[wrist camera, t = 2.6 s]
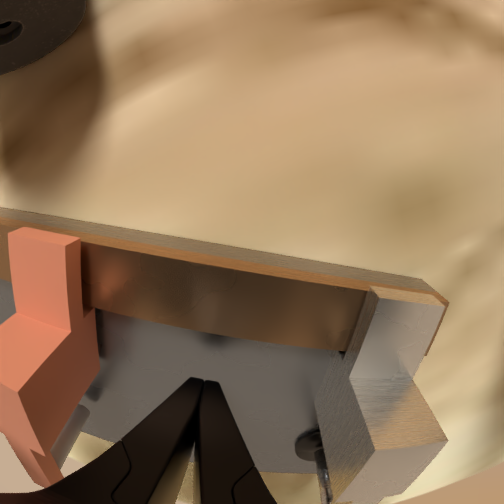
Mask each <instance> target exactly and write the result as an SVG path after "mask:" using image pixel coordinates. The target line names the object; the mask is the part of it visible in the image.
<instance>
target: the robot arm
mask: <svg viewBox="0 0 504 504" xmlns="http://www.w3.org/2000/svg"><path fill="white" fill-rule="evenodd" d="M194 443H195V445H194ZM193 448H194V483H193V504H277V503H276V501H275V500H274V498H273V497H272V495H271V494H270V492H269V490H268V489H267V487H266V485H265V483H264V481H263V479H262V478H261V476H260V473H259V471H258V469H257V467H255V463H254V461H253V459H252V457H251V455H250V453H249V450H248V448H247V446H246V444H245V442H244V439H243V437H242V435H241V433H240V430H239V428H238V426H237V424H236V421H235V419H234V417H233V414H232V412H231V410H230V407H229V405H228V402H227V400H226V398H225V395H224V393H223V390H222V388H221V385H220V383H219V382H217V381H212V380H205V381H204V380H203V379H201V378H196V377H190V378H188V379H187V380H186V381H185V382H184V383H183V384H182V385H181V386H180V387H179V388H178V389H176V390H175V391H174V392H173V393H172V394H171V395H170V396H169V397H168V398H167V399H165V400H164V401H163V402H162V403H161V404H160V405H159V406H158V407H157V408H155V409H154V410H153V411H152V412H151V413H150V414H149V415H148V416H146V417H145V418H144V419H143V420H142V421H141V422H140V423H139V424H137V425H136V426H135V427H134V428H133V429H132V430H131V431H129V432H128V433H127V434H126V435H125V436H124V437H122V438H121V440H119V441H118V442H116V443H115V444H114V445H113V446H112V447H111V448H109V449H108V450H107V451H105V452H104V453H103V454H102V455H100V456H99V457H98V458H96V459H95V460H93V461H92V462H90V463H88V464H87V465H85V466H84V467H82V468H80V469H79V470H77V471H75V472H74V473H72V474H70V475H68V476H67V477H65V478H63V479H61V480H60V481H58V482H56V483H54V484H52V485H51V486H49V487H47V488H44V489H42V490H39V491H35V492H29V493H0V504H175V502H176V499H177V496H178V493H179V490H180V487H181V484H182V481H183V478H184V475H185V472H186V469H187V466H188V463H189V460H190V457H191V454H192V451H193Z"/></svg>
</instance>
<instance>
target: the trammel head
mask: <svg viewBox="0 0 504 504" xmlns="http://www.w3.org/2000/svg"><path fill="white" fill-rule="evenodd" d="M8 248H9V260H10V271H11V279H12V287H13V294H14V301H15V307H16V313H15V314H14V315H12V316H11V317H10V318H9V319H7V320H6V321H5V322H4V323H2V324H1V325H0V432H2V433H3V434H4V435H5V436H6V438H7V440H8V442H9V444H10V445H11V447H12V449H13V450H14V452H15V454H16V455H17V457H18V459H19V460H20V462H21V463H22V465H23V466H24V468H25V470H26V471H27V472H28V474H29V476H30V477H31V478H32V480H33V481H34V483H36V484H38V485H40V486H42V487H44V488H47V487H49V486H51V485H52V484H54V483H56V482H58V481H60V480H61V479H63V478H64V477H63V475H62V473H61V471H60V469H61V467H62V465H63V463H64V462H65V460H66V458H67V456H68V454H69V452H70V450H71V448H72V447H73V445H74V443H75V441H76V439H77V437H78V435H79V434H80V432H81V430H82V428H83V426H84V425H85V423H86V421H87V419H88V417H89V416H90V411H89V410H88V409H87V408H86V407H85V406H83V405H81V404H78V403H79V402H80V400H81V398H82V397H83V395H84V394H85V392H86V391H87V389H88V387H89V386H90V384H91V383H92V381H93V380H94V378H95V377H96V375H97V374H98V372H99V370H100V362H99V353H98V344H97V332H96V319H95V308H94V307H90V306H87V305H83V304H82V289H81V238H79V237H74V236H69V235H64V234H58V233H53V232H48V231H43V230H38V229H33V228H28V227H22V228H19V229H17V230H14V231H12V232H9V233H8Z"/></svg>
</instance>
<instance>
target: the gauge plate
mask: <svg viewBox="0 0 504 504" xmlns="http://www.w3.org/2000/svg"><path fill="white" fill-rule="evenodd" d="M22 227H28V228H33V229H38V230H43V231H48V232H53V233H58V234H64V235H69V236H74V237H79V238H81V289H82V304H83V305H87V306H90V307H94V308H95V319H96V332H97V344H98V353H99V362H100V370H99V372H98V374H97V375H96V377H95V378H94V380H93V381H92V383H91V384H90V386H89V387H88V389H87V391H86V392H85V394H84V395H83V397H82V398H81V400H80V402H79V403H78V404H81V405H83V406H85V407H86V408H87V409H88V410H89V411H90V416H89V417H88V419H87V421H86V423H85V425H84V426H83V428H82V430H81V431H82V432H85V433H87V434H90V435H93V436H96V437H99V438H102V439H104V440H107V441H110V442H114V443H116V442H118V441H119V440H121V438H122V437H124V436H125V435H126V434H127V433H128V432H129V431H131V430H132V429H133V428H134V427H135V426H136V425H137V424H139V423H140V422H141V421H142V420H143V419H144V418H145V417H146V416H148V415H149V414H150V413H151V412H152V411H153V410H154V409H155V408H157V407H158V406H159V405H160V404H161V403H162V402H163V401H164V400H165V399H167V398H168V397H169V396H170V395H171V394H172V393H173V392H174V391H175V390H176V389H178V388H179V387H180V386H181V385H182V384H183V383H184V382H185V381H186V380H187V379H188V378H190V377H196V378H201V379H203V380H204V381H205V380H212V381H217V382H219V383H220V385H221V388H222V390H223V393H224V395H225V398H226V400H227V402H228V405H229V407H230V410H231V412H232V414H233V417H234V419H235V421H236V424H237V426H238V428H239V430H240V433H241V435H242V437H243V439H244V442H245V444H246V446H247V448H248V450H249V453H250V455H251V457H252V459H253V461H254V463H255V467H257V469H258V471H263V472H279V473H317V476H318V482H319V488H320V495H321V501H322V504H378V503H379V502H380V501H381V500H382V499H383V498H384V497H387V496H393V495H398V494H402V493H403V492H404V491H405V490H406V489H407V488H408V487H409V486H410V485H411V484H412V482H413V481H414V480H415V479H416V478H417V477H418V476H419V475H420V474H421V473H422V472H423V471H424V469H425V468H426V467H427V466H428V465H429V464H430V463H431V461H432V460H433V459H434V458H435V457H436V455H437V454H438V453H439V452H440V451H441V449H442V448H443V447H444V446H445V444H446V443H447V442H448V439H447V437H446V435H445V434H444V432H443V430H442V428H441V427H440V425H439V423H438V421H437V420H436V418H435V416H434V414H433V413H432V411H431V409H430V408H429V406H428V404H427V403H426V401H425V399H424V398H423V396H422V394H421V393H420V391H419V389H418V388H417V386H416V384H415V383H414V381H413V380H412V379H413V377H414V375H415V373H416V371H417V369H418V367H419V365H420V363H421V361H422V359H423V357H424V356H427V353H428V351H429V349H430V347H431V345H432V343H433V341H434V338H435V336H436V334H437V331H438V329H439V327H440V324H441V322H442V320H443V317H444V315H445V312H446V310H447V307H448V305H449V302H448V301H447V300H446V299H445V298H444V297H442V296H441V295H440V294H439V293H438V292H437V291H435V290H434V289H433V288H432V287H431V286H429V285H428V284H427V283H426V282H424V281H423V280H422V279H417V278H411V277H406V276H400V275H394V274H388V273H383V272H377V271H371V270H365V269H360V268H354V267H348V266H342V265H337V264H331V263H325V262H319V261H313V260H308V259H302V258H296V257H290V256H285V255H279V254H273V253H267V252H261V251H255V250H250V249H244V248H238V247H232V246H226V245H221V244H215V243H209V242H203V241H197V240H191V239H185V238H180V237H174V236H168V235H162V234H156V233H150V232H144V231H139V230H133V229H127V228H121V227H115V226H109V225H103V224H97V223H91V222H85V221H80V220H74V219H68V218H62V217H56V216H50V215H44V214H38V213H32V212H26V211H20V210H14V209H8V208H2V207H0V325H1V324H2V323H4V322H5V321H6V320H7V319H9V318H10V317H11V316H12V315H14V314H15V313H16V307H15V301H14V294H13V287H12V279H11V271H10V260H9V248H8V233H9V232H12V231H14V230H17V229H19V228H22ZM194 445H195V443H194ZM189 462H193V463H194V448H193V451H192V454H191V457H190V460H189Z"/></svg>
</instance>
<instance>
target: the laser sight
mask: <svg viewBox="0 0 504 504" xmlns="http://www.w3.org/2000/svg"><path fill="white" fill-rule="evenodd" d="M85 10H86V0H0V75H2V74H5V73H8V72H11V71H13V70H16V69H18V68H21V67H23V66H25V65H27V64H29V63H31V62H33V61H35V60H37V59H39V58H41V57H43V56H44V55H46V54H47V53H49V52H50V51H52V50H53V49H55V48H56V47H58V46H59V45H60V44H61V43H63V42H64V41H65V40H66V39H67V38H68V37H69V36H70V35H71V34H72V33H73V32H74V31H75V30H76V28H77V27H78V26H79V24H80V23H81V21H82V19H83V17H84V14H85Z"/></svg>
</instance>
